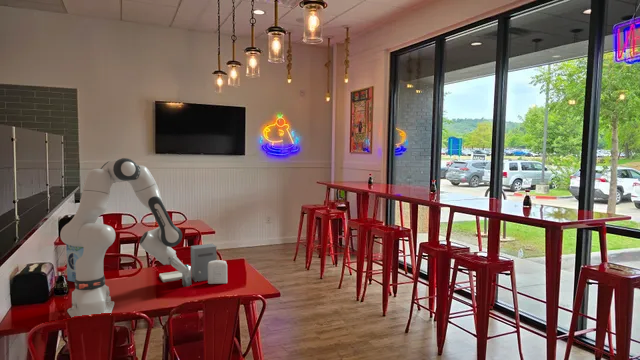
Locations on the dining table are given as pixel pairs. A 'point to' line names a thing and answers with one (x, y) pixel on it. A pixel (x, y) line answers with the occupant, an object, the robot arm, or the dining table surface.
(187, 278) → the cartridge
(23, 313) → the dining table surface
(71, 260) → the gum box
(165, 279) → the tray
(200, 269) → the box
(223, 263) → the photo printer
